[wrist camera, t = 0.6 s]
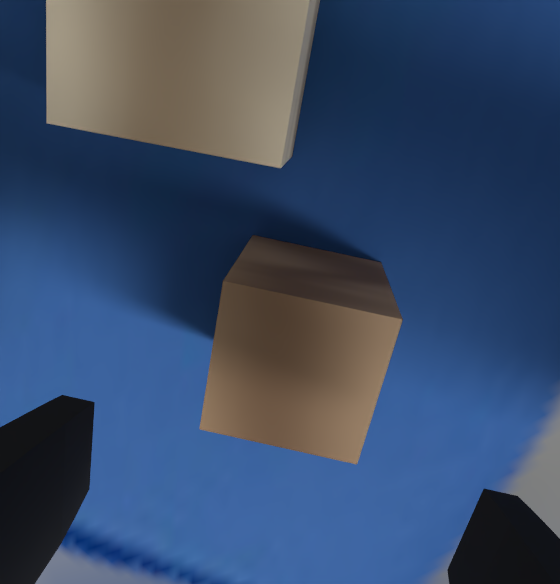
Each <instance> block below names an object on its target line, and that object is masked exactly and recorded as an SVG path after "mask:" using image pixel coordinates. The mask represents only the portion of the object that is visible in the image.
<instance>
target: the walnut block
mask: <svg viewBox="0 0 560 584" xmlns="http://www.w3.org/2000/svg"><path fill="white" fill-rule="evenodd" d="M402 320H403V319H402V316H401V314H400V311H399V308H398V306H397V303H396V301H395V298H394V295H393V293H392V290H391V287H390V285H389V282H388V279H387V277H386V274H385V271H384V269H383V266H382V263H381V262H377V261H372V260H368V259H363V258H358V257H354V256H349V255H344V254H340V253H335V252H330V251H326V250H321V249H316V248H312V247H307V246H302V245H298V244H293V243H288V242H284V241H279V240H274V239H269V238H265V237H260V236H255V235H253V236H252V237H251V239H250V240H249V242H248V243H247V245H246V246H245V248H244V249H243V251H242V252H241V254H240V256H239V257H238V259H237V260H236V262H235V263H234V265H233V266H232V268H231V269H230V271H229V273H228V274H227V276H226V277H225V279H224V280H223V285H222V291H221V297H220V304H219V310H218V316H217V322H216V329H215V335H214V341H213V348H212V354H211V360H210V366H209V373H208V379H207V385H206V392H205V398H204V404H203V410H202V417H201V423H200V429H201V430H205V431H210V432H214V433H219V434H223V435H228V436H232V437H237V438H241V439H246V440H250V441H255V442H259V443H264V444H268V445H273V446H277V447H281V448H286V449H290V450H295V451H299V452H304V453H308V454H313V455H317V456H322V457H326V458H331V459H335V460H340V461H344V462H349V463H353V464H357V463H358V460H359V456H360V453H361V450H362V447H363V444H364V441H365V437H366V434H367V431H368V428H369V425H370V422H371V418H372V415H373V412H374V409H375V406H376V403H377V399H378V396H379V393H380V390H381V387H382V384H383V380H384V377H385V374H386V371H387V368H388V365H389V361H390V358H391V355H392V352H393V349H394V346H395V342H396V339H397V336H398V333H399V330H400V327H401V323H402Z"/></svg>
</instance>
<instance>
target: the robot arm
mask: <svg viewBox="0 0 560 584" xmlns="http://www.w3.org/2000/svg"><path fill="white" fill-rule="evenodd" d="M93 418H94V402H91V401H87V400H82V399H78V398H73V397H69V396H64V395H61V396H59V397H57V398H55V399H53V400H51V401H49V402H47V403H45V404H43V405H41V406H40V407H38V408H36V409H34V410H32V411H30V412H28V413H26V414H24V415H23V416H21V417H19V418H17V419H15V420H13V421H11V422H9V423H8V424H6V425H4V426H2V427H0V584H35V582H36V581H37V579H38V578H39V576H40V575H41V573H42V572H43V570H44V569H45V567H46V566H47V564H48V563H49V561H50V560H51V558H52V557H53V555H54V554H55V552H56V550H57V549H58V547H59V546H60V544H61V543H62V541H63V539H64V537H65V535H66V533H67V531H68V529H69V528H70V526H71V524H72V522H73V520H74V518H75V516H76V514H77V512H78V510H79V508H80V506H81V504H82V502H83V500H84V498H85V496H86V494H87V492H88V490H89V485H90V468H91V451H92V435H93ZM448 577H449V584H560V539H559V538H558V537H557V536H556V534H555V533H554V532H553V531H552V530H551V529H550V528H549V527H548V526H547V525H546V524H545V523H544V522H543V521H542V520H541V519H540V518H539V517H538V516H537V515H536V514H535V513H534V512H533V511H532V510H531V509H530V508H529V507H528V506H527V505H526V504H525V503H524V502H523V501H522V500H521V499H520V498H519V497H518V496H514V495H510V494H506V493H501V492H497V491H492V490H488V489H483V492H482V494H481V496H480V498H479V501H478V503H477V505H476V507H475V510H474V512H473V514H472V516H471V518H470V521H469V523H468V525H467V527H466V530H465V532H464V534H463V536H462V539H461V541H460V543H459V545H458V548H457V550H456V552H455V554H454V556H453V559H452V561H451V563H450V565H449V568H448Z"/></svg>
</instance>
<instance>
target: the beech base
mask: <svg viewBox="0 0 560 584" xmlns="http://www.w3.org/2000/svg"><path fill="white" fill-rule="evenodd" d="M319 3H320V0H46V93H47V123H48V124H53V125H58V126H63V127H68V128H74V129H79V130H84V131H89V132H94V133H100V134H105V135H110V136H115V137H120V138H126V139H131V140H136V141H141V142H146V143H152V144H157V145H162V146H167V147H172V148H178V149H183V150H188V151H193V152H198V153H204V154H209V155H214V156H219V157H224V158H230V159H235V160H240V161H245V162H250V163H256V164H261V165H266V166H271V167H276V168H282V167H283V165H284V164H285V163H286V162H287V161H288V160H289V159H290V158H291V157H292V154H293V149H294V143H295V137H296V132H297V126H298V121H299V115H300V109H301V104H302V98H303V93H304V87H305V82H306V76H307V70H308V65H309V59H310V54H311V48H312V42H313V37H314V31H315V26H316V20H317V14H318V9H319Z"/></svg>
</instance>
